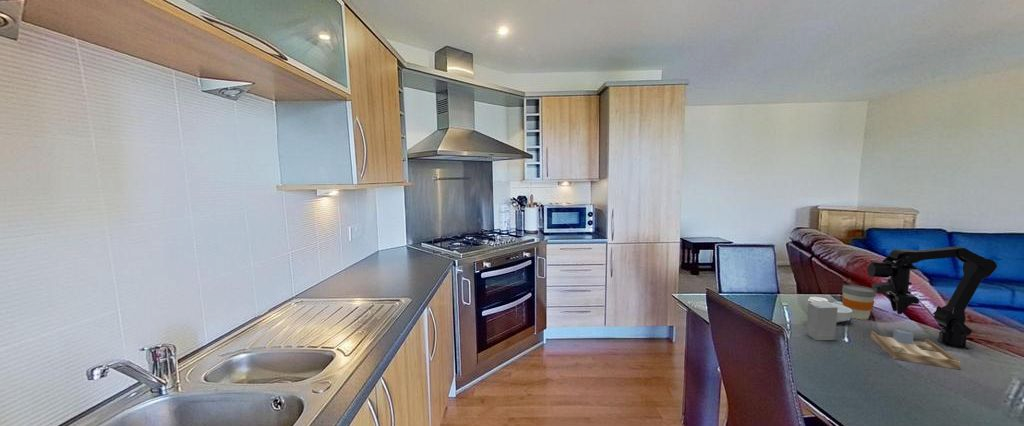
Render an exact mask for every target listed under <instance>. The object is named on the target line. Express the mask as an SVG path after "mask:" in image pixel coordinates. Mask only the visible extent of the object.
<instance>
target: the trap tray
mask: <svg viewBox="0 0 1024 426" xmlns="http://www.w3.org/2000/svg"><path fill="white" fill-rule="evenodd" d="M870 338H871V340H872V341H874V342H875V343H876V344H877V345H878V346H879V347H880V348H881V349H882V350H883V351H884V352H885V353H886V354H888V355H889V356H890V357H891V358H892V359H893V360H898V361H906V362H910V363H918V364H924V365H929V366H936V367H941V368H942V367H943V368H947V369H954V370H961V361H960V360H959V359H957V358H956V357H954V355H951V354H950V353H949V352H948V351H945V350H944V349H943V348H942V347H940V346H939V345H937V344H936V343H934V342H933V341H931V340H930V339H929V338H925V339H924V341H920V340H919V341H918V340H913V344H906V343H899V342H897V341H896V340H895V339H893V336H892V337H891V336H883V335H879V334H877V332H875V331H874V330H873V331H870Z"/></svg>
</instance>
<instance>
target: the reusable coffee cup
mask: <svg viewBox="0 0 1024 426" xmlns="http://www.w3.org/2000/svg"><path fill="white" fill-rule="evenodd" d="M841 292H842V296H841V301H842V305H843V306H846V307H848V308H850V309H851V310H852V311H853V312H852V316H851V318H852V319H858V320H869V318H870V315H871V311H872V310H873V307H874V305H875V297H876V292H875V291H874V290H873V288H872V287H867V286H863V285H855V284H844V285H842V288H841Z"/></svg>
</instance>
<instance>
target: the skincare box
mask: <svg viewBox="0 0 1024 426" xmlns="http://www.w3.org/2000/svg"><path fill="white" fill-rule="evenodd" d="M830 303H831V302H829V303H827V302H817V303H816V302H814V303H810V302H809V301H808V303H807V304H808V306H807V320H806V333H805V334H806V335H807V337H810V338H812V339H813V340H815V341H836V333H837V331H836V330H837V323H838V322H837V310H838V308H837V307H836V306H833V305H832V304H830ZM836 322H837V323H836Z"/></svg>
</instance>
